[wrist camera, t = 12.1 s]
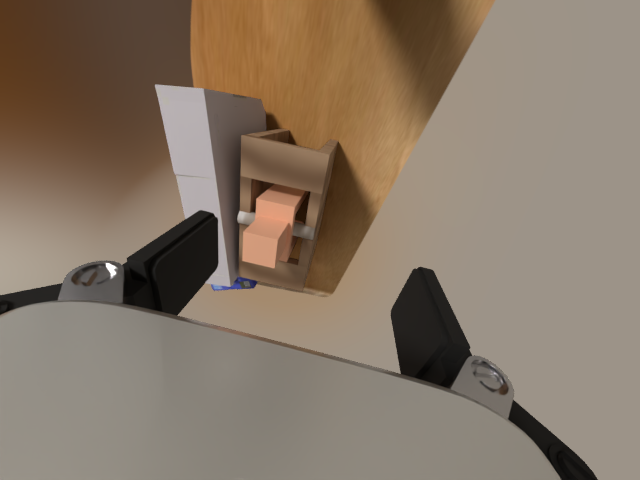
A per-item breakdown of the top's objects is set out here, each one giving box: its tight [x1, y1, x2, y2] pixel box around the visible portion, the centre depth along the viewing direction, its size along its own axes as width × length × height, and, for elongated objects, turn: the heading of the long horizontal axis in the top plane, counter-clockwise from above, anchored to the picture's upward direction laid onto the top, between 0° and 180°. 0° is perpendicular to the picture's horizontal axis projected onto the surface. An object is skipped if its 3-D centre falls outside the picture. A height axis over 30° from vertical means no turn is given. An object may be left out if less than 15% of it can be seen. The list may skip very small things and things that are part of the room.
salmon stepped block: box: [242, 184, 309, 268], centre depth 34 cm, size 8×5×16 cm, turn 169°
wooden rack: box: [237, 129, 338, 291], centre depth 41 cm, size 22×11×19 cm, turn 169°
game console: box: [155, 85, 266, 287], centre depth 40 cm, size 6×27×20 cm, turn 175°
